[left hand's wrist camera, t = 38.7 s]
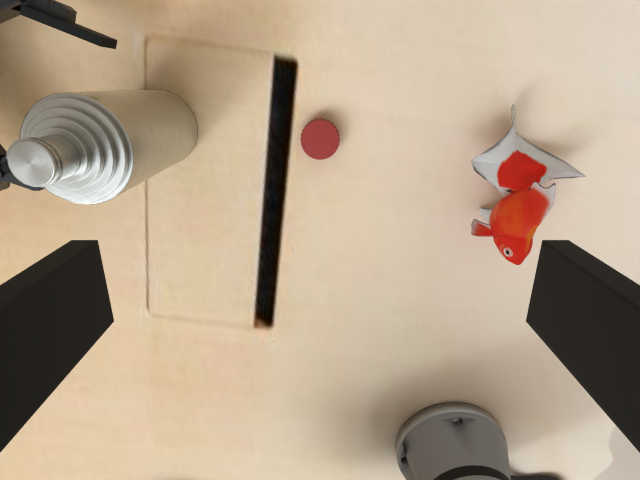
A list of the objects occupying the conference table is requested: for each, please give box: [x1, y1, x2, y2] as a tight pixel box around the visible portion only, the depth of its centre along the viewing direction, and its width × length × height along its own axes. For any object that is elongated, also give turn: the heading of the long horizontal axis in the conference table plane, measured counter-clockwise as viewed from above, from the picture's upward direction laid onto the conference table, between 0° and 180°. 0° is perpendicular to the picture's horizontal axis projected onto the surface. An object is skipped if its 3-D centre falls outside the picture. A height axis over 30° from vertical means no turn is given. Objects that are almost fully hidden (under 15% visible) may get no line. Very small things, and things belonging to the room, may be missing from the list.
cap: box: [301, 119, 340, 159], centre depth 44 cm, size 4×4×2 cm
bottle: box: [6, 89, 198, 204], centre depth 34 cm, size 8×8×22 cm
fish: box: [471, 104, 585, 265], centre depth 43 cm, size 11×16×10 cm
